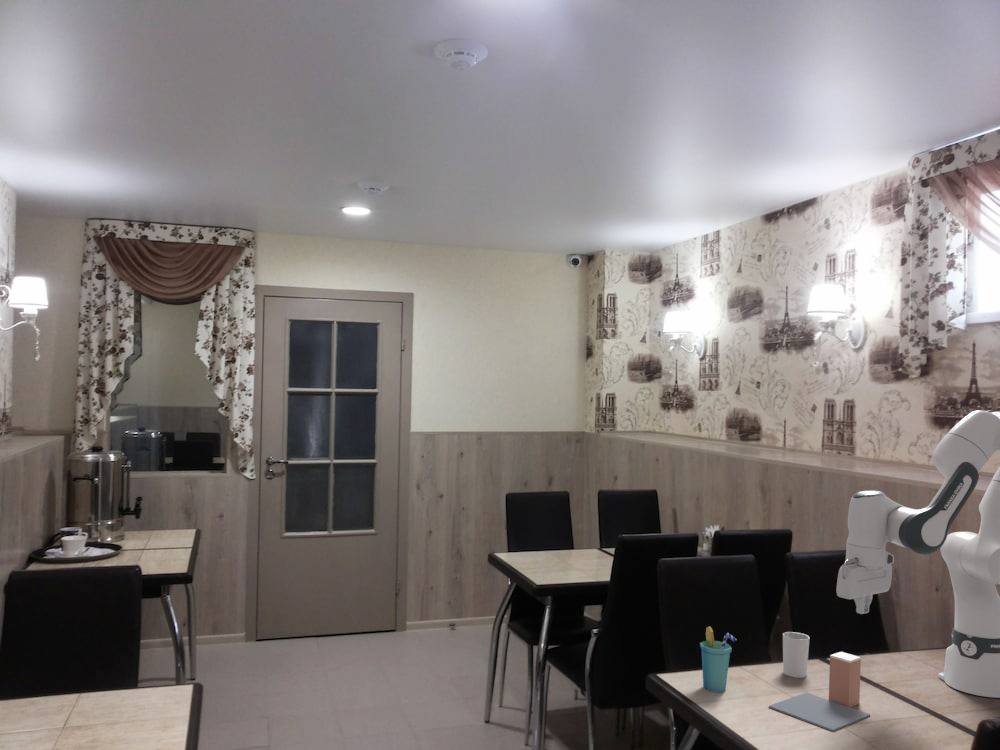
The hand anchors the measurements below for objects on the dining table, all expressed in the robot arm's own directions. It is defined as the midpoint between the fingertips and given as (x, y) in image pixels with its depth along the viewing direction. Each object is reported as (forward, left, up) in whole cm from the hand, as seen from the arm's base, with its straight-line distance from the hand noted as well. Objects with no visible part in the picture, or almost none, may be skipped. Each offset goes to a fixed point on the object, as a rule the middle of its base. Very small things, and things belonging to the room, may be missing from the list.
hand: (862, 612), depth 201 cm
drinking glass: (0, -18, -20) cm, 27 cm away
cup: (+28, -22, -20) cm, 41 cm away
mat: (+19, 0, -20) cm, 28 cm away
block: (+8, 0, -20) cm, 22 cm away
